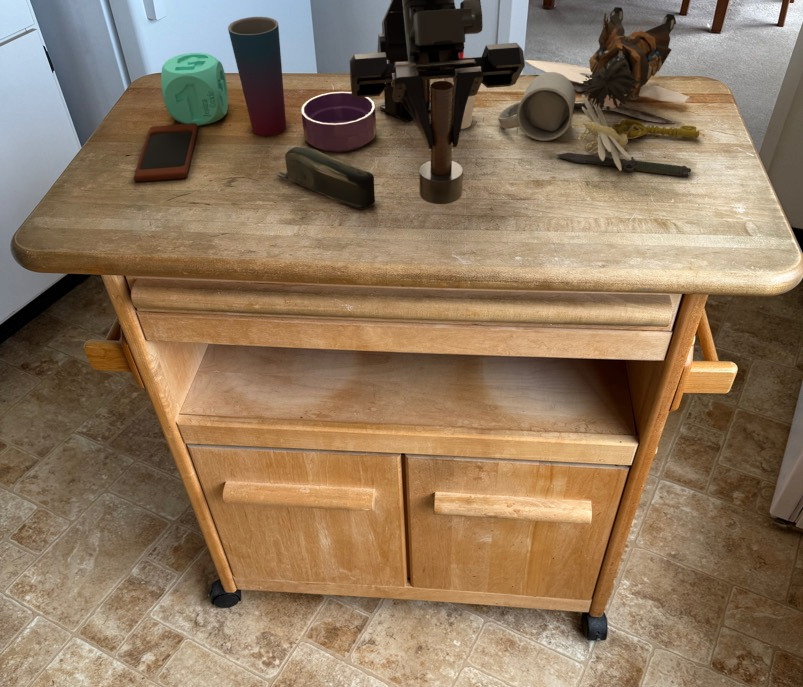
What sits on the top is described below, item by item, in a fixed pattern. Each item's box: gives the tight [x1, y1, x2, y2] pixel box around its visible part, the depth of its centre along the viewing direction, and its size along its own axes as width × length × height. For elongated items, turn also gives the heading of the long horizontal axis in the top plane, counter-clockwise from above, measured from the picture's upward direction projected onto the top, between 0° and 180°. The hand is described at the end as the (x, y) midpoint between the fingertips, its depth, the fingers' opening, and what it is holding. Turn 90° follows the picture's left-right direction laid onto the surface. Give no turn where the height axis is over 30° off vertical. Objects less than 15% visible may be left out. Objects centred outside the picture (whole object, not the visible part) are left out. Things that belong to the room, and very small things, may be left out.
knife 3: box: [555, 152, 692, 177], centre depth 101 cm, size 18×1×3 cm
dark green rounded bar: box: [277, 146, 376, 210], centre depth 97 cm, size 5×3×15 cm
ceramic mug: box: [497, 72, 576, 142], centre depth 108 cm, size 11×8×8 cm
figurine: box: [579, 6, 677, 111], centre depth 110 cm, size 11×13×30 cm
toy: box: [572, 94, 640, 172], centre depth 103 cm, size 15×9×5 cm, turn 8°
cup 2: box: [443, 50, 476, 130], centre depth 108 cm, size 5×5×12 cm
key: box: [611, 118, 700, 140], centre depth 107 cm, size 12×1×5 cm
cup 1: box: [227, 16, 287, 137], centre depth 108 cm, size 7×7×15 cm
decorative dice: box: [160, 52, 229, 127], centre depth 114 cm, size 8×8×8 cm
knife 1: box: [524, 59, 691, 105], centre depth 119 cm, size 6×28×1 cm, turn 52°
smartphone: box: [133, 123, 199, 182], centre depth 107 cm, size 7×1×15 cm
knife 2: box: [573, 102, 676, 124], centre depth 112 cm, size 18×1×5 cm
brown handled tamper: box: [418, 80, 464, 205], centre depth 84 cm, size 5×5×13 cm
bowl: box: [300, 91, 377, 153], centre depth 109 cm, size 10×10×4 cm
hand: (443, 147), depth 83 cm, fingers closed on brown handled tamper, 2 cm apart
